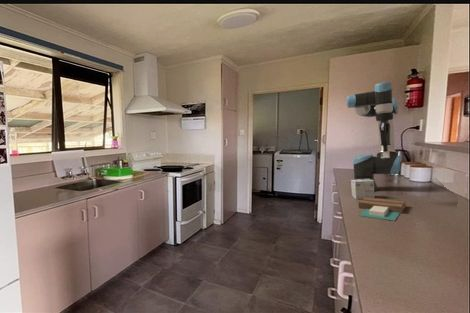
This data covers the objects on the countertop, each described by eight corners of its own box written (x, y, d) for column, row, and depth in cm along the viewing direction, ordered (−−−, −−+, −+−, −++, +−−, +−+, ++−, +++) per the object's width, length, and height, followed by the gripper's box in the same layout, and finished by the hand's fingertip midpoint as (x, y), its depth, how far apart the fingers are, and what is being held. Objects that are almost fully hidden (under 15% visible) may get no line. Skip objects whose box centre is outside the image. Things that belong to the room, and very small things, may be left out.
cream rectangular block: (374, 209, 114) (374, 205, 114) (388, 211, 110) (388, 207, 110) (369, 214, 108) (369, 210, 108) (384, 216, 104) (384, 212, 104)
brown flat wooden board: (365, 202, 128) (365, 197, 128) (405, 206, 116) (405, 200, 115) (358, 208, 120) (358, 202, 119) (401, 213, 107) (401, 207, 107)
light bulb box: (369, 195, 141) (368, 178, 140) (375, 198, 134) (374, 180, 134) (351, 196, 142) (350, 179, 141) (356, 199, 135) (355, 181, 135)
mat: (366, 209, 117) (366, 208, 117) (399, 213, 107) (399, 212, 107) (358, 215, 108) (358, 215, 108) (394, 221, 99) (394, 220, 99)
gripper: (379, 114, 128) (381, 156, 130) (372, 113, 119) (375, 159, 121) (395, 112, 123) (397, 156, 125) (390, 111, 114) (392, 158, 115)
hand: (386, 157), depth 123 cm, fingers closed
